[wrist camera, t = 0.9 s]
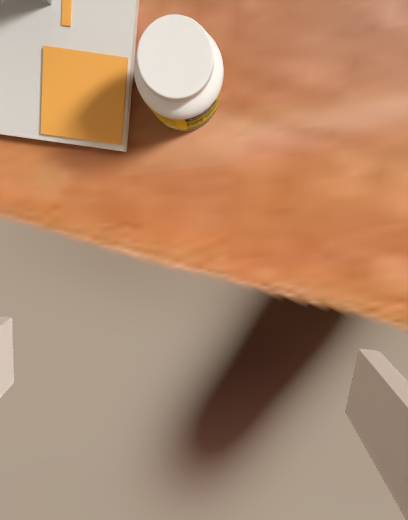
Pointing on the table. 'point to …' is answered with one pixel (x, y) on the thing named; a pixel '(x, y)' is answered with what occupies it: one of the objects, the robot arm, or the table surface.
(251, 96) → the table surface
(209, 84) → the pill bottle
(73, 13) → the breaker panel
